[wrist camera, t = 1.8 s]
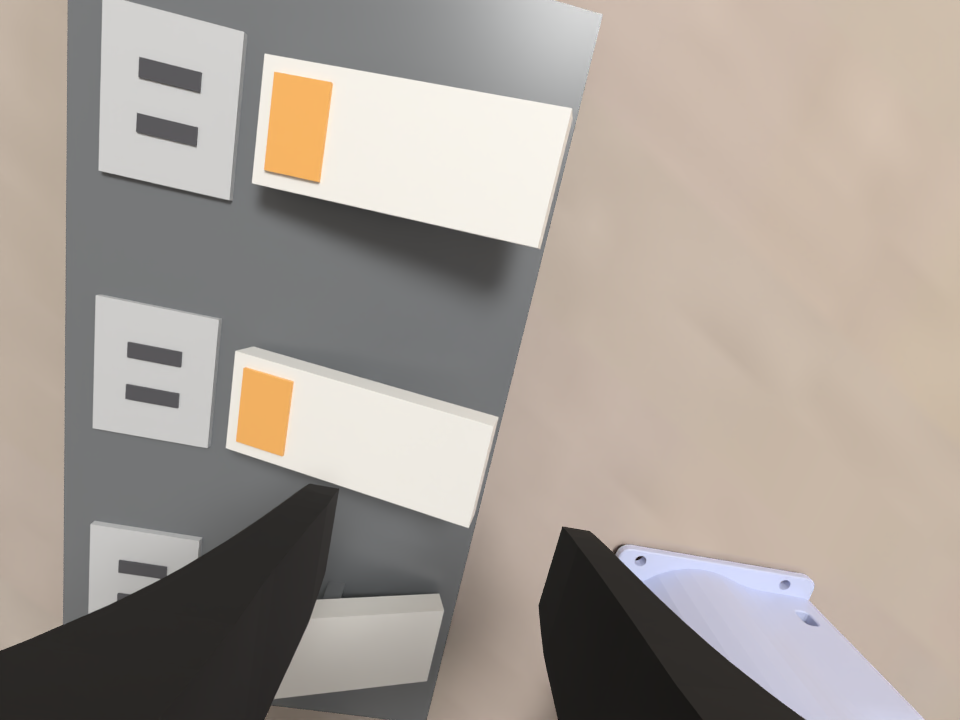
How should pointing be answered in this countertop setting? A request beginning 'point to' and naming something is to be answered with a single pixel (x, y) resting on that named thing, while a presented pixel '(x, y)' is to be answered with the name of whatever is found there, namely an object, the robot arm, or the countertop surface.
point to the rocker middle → (360, 434)
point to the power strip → (271, 284)
